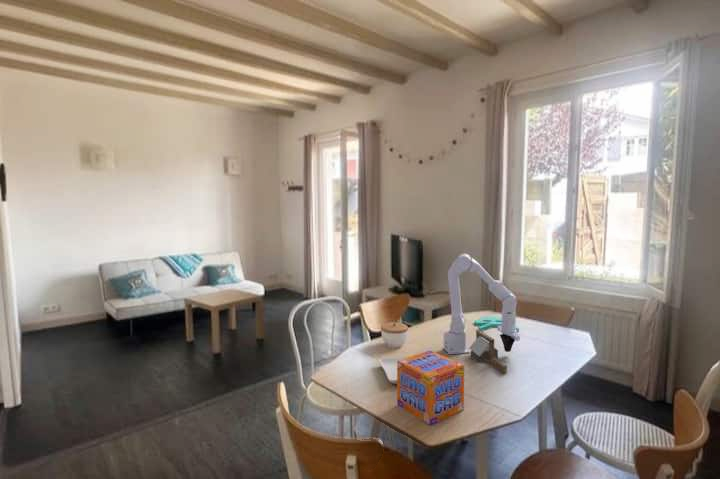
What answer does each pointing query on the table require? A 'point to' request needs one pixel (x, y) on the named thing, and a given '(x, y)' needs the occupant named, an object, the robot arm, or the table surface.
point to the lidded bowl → (394, 334)
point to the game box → (430, 386)
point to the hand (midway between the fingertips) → (507, 351)
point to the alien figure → (489, 323)
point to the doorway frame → (492, 352)
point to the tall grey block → (484, 355)
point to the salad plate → (390, 367)
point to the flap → (479, 346)
